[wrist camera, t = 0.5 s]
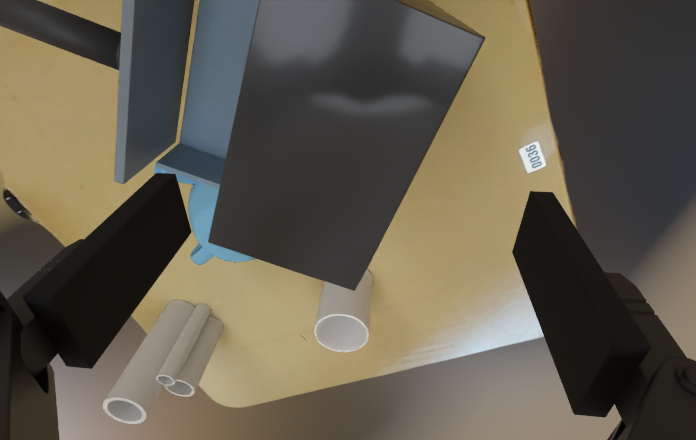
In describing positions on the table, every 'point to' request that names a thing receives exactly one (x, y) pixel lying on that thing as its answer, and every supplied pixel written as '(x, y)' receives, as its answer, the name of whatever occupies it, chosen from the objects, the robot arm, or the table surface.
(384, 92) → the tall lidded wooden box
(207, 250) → the teapot
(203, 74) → the top drawer
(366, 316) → the mug
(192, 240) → the table surface
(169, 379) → the vase
